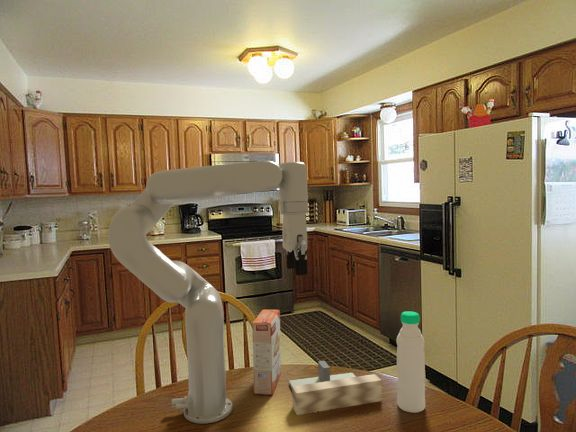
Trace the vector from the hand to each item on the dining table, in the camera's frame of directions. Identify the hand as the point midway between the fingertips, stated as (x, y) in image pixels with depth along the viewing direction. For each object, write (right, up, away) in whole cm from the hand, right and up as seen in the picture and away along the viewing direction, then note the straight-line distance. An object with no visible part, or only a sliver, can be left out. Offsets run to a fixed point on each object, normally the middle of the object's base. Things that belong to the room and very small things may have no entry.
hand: (296, 271), depth 112 cm
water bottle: (+30, -35, -4) cm, 46 cm away
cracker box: (-8, -36, +12) cm, 38 cm away
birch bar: (+11, -36, -1) cm, 37 cm away
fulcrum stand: (+8, -35, +11) cm, 37 cm away
